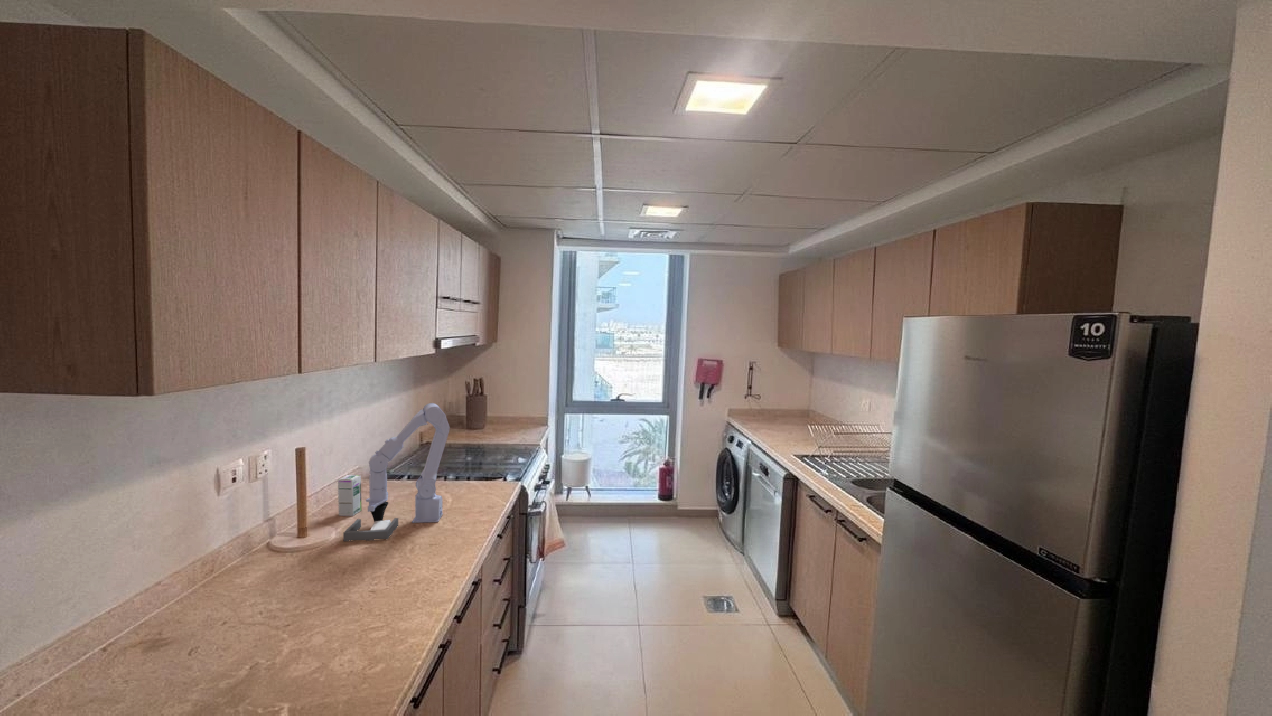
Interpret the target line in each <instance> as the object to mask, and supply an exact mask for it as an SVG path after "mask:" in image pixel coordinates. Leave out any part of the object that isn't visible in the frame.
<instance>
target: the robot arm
mask: <svg viewBox="0 0 1272 716" xmlns="http://www.w3.org/2000/svg"><path fill="white" fill-rule="evenodd" d="M428 423H429V424H431V425H432V426H433V428H434V429H435V431H434V434H433V437H432V441H431V445H430V447H429V451H428V455H427V458H426V460H425V465H424V467H423V470H422V471H421V474H420V476H419V477H418V478H417V480H416V481H415V487H416V489H417V493H416V494H415V501H414V507H415V510H414V511H415V512H414V514H415V516H414V518H413V519H412V520H411V523H412V524H415V523H416V524H417V523H438V522H439V521H440V519H441V518H442V516H443V515H444V513H443V502H444V501H443V496H442V495H438V494H436V493H437V491H436V490H437V488H436V482H437V473H438V471H439V467H440V463H441V459H442V458H443V457H442V456H443V453H444V450H445V447H446V443H447V440H448V437H449V434H450V428H451V427H450V424H449V422H448V419H447V416H446V413H445V412H444V411H443V410H442V408H441V407H440V406H439V405H438V404H436V403H434V402H430V403H427V404H426V405H424V406H423V408H421V409H420V410H419V411H417V413H416V414H415V415H414V416H413V417H412V418H411V420H409V422H408V423H407V424H406V425H405V426H404V428H402V429H401V431H400V432H399V433H398V434H397V436H393V437H390V438H389V439H388V438H387V439H385V441H384V444H383V445H382V446H381V447H380V448H379V450H376V451H375V452H374V454H373V455H371V457H370V458H369V461H368V464H369V476H368V477H369V478H368V480H369V483H368V484H369V491H368V493H369V497H368V498H366V499H365V502H366V503H368V506H367V512H370V514H371V516H372V518H373V519H372V520H373V523H374V522H375V521H384V515H385V512H386V510H387V508H388V505H389V501H388V499H389V492H388V474H387V468H388V465H389V462H391V461H393V459H394V458H395V457H396V456H397V455H398V454H399V453H400V452H401V451H402V450H403V449H404V442H405V441H406V440H407V439H408V438H409V437H410V436H412V434H413V433H414V432H415V431H416V430H417V429H419V428H420V427H423V426H427V425H428Z"/></svg>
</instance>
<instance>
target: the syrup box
mask: <svg viewBox="0 0 1272 716" xmlns="http://www.w3.org/2000/svg"><path fill="white" fill-rule="evenodd" d="M337 494H338V495H337V497H338V498H337V499H338V501H337V502H338V516H339V517H340V516H344V517H353V516H355V515H356V514H359V512H362V507H363V506H362V476H361V475H360V474H347V475H344V476H342V477H341V478H339V479H337Z"/></svg>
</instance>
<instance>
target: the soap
mask: <svg viewBox="0 0 1272 716" xmlns="http://www.w3.org/2000/svg"><path fill="white" fill-rule="evenodd" d="M391 522H392V521H391V520H390V519H385V520H384V519H383V521H375V522H374V521H373V523H372V526H371V528H370V530H385V529H386V528H387V527H388V526H389V524H390V523H391Z"/></svg>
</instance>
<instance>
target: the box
mask: <svg viewBox="0 0 1272 716" xmlns="http://www.w3.org/2000/svg"><path fill="white" fill-rule="evenodd" d="M397 526H398V527H399V517H395V518H394V519H392V521H391V523H390V524H389V526H388V527H387V528H386V529H385V530H360V529H361V528H360V527H362V519H360V518H357V519H356V520H355V521H354V522H353V523H352V524H351V525H350V526H349V527H347V528H346V529H345V531H344V532H343V533H342V534H343V536H342V537H343V538H342V539H343V542H352V541H351V540H366V541H375V540H374V539H387V540H389V538H390V537H391V536H392V534H393V533H394V532H395V531H396V529H397V528H398V527H397ZM359 528H360V529H359ZM358 529H359V530H358ZM357 530H358V531H357ZM394 530H395V531H394ZM393 531H394V532H393ZM390 535H391V536H390ZM389 536H390V537H389ZM349 540H350V541H349Z"/></svg>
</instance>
